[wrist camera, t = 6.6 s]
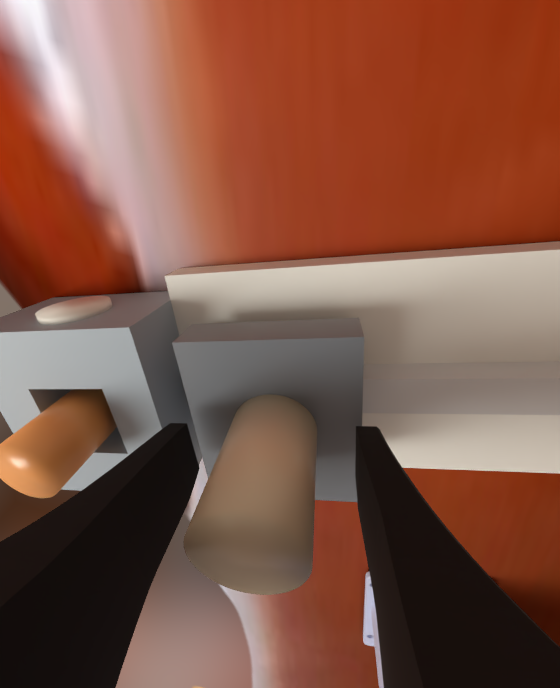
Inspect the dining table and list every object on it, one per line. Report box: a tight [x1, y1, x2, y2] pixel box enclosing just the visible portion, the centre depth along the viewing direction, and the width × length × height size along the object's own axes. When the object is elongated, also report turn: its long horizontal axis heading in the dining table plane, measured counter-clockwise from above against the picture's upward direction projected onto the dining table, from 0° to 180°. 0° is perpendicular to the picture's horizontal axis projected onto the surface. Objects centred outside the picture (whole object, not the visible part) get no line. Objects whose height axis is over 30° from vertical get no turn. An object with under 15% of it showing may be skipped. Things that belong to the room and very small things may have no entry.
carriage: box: [172, 318, 364, 595], centre depth 10 cm, size 7×6×7 cm
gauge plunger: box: [0, 389, 117, 498], centre depth 12 cm, size 2×2×4 cm
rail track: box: [165, 241, 560, 473], centre depth 12 cm, size 10×24×4 cm, turn 95°
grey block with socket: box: [0, 291, 202, 491], centre depth 14 cm, size 8×7×4 cm
